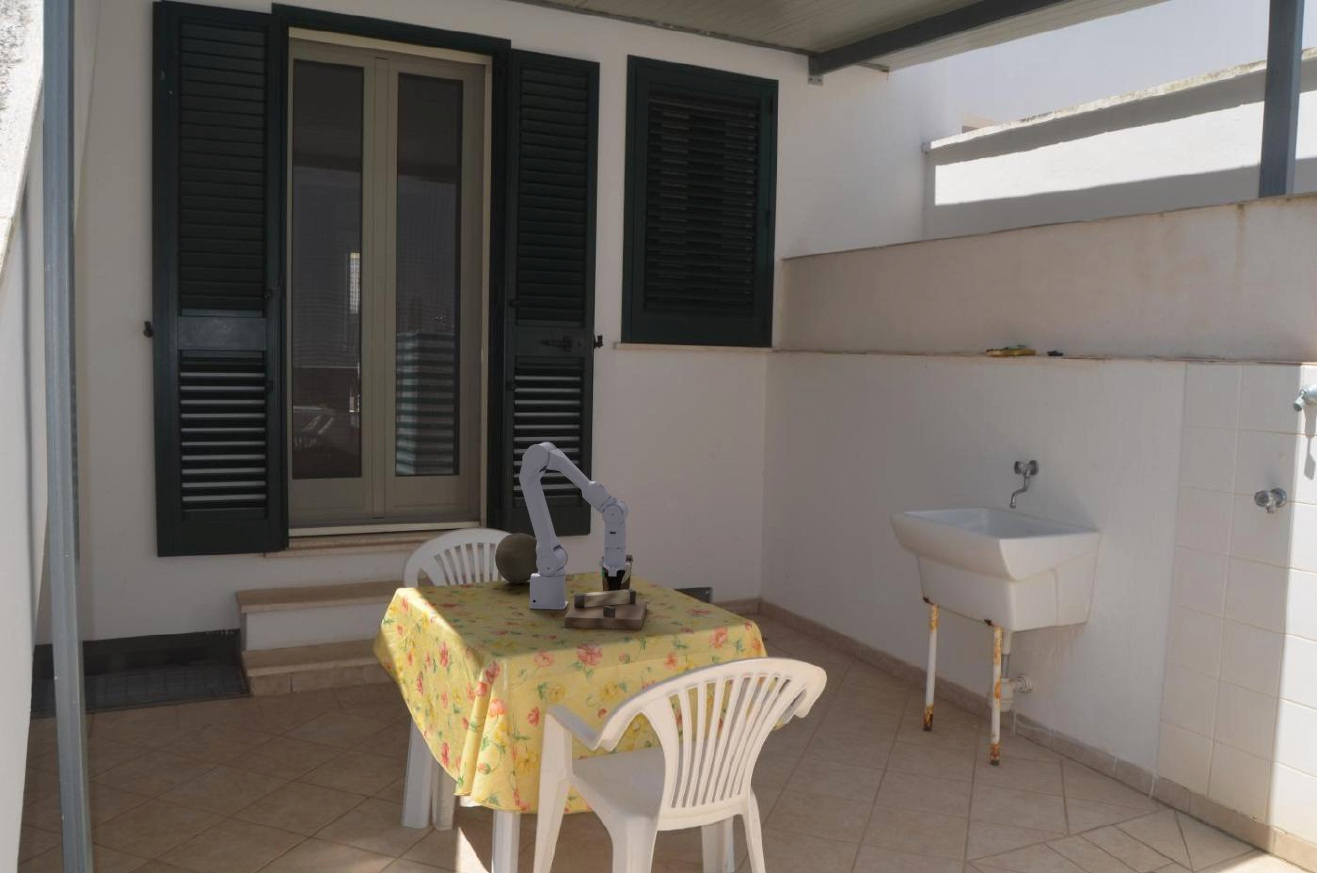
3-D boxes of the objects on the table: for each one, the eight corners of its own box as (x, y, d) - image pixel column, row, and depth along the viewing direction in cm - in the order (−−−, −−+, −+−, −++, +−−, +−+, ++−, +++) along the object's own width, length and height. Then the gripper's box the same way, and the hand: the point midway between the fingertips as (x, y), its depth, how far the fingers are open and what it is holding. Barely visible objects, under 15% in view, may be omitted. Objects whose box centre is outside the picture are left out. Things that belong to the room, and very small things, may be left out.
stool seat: (564, 627, 265) (564, 607, 264) (576, 606, 287) (576, 588, 286) (640, 629, 264) (640, 610, 263) (646, 608, 286) (646, 590, 285)
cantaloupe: (487, 581, 315) (487, 531, 314) (531, 577, 322) (532, 528, 321) (504, 591, 303) (505, 539, 302) (550, 586, 310) (550, 535, 309)
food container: (616, 585, 313) (616, 552, 312) (632, 588, 309) (633, 554, 309) (589, 592, 303) (590, 558, 302) (606, 596, 299) (607, 561, 299)
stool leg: (576, 608, 273) (577, 596, 273) (572, 605, 276) (572, 593, 276) (635, 603, 280) (635, 591, 280) (630, 600, 283) (630, 588, 283)
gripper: (627, 552, 274) (627, 604, 275) (632, 542, 288) (631, 591, 289) (600, 551, 274) (600, 603, 275) (606, 542, 289) (605, 591, 290)
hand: (614, 597), depth 282 cm, fingers closed, pressing on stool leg
